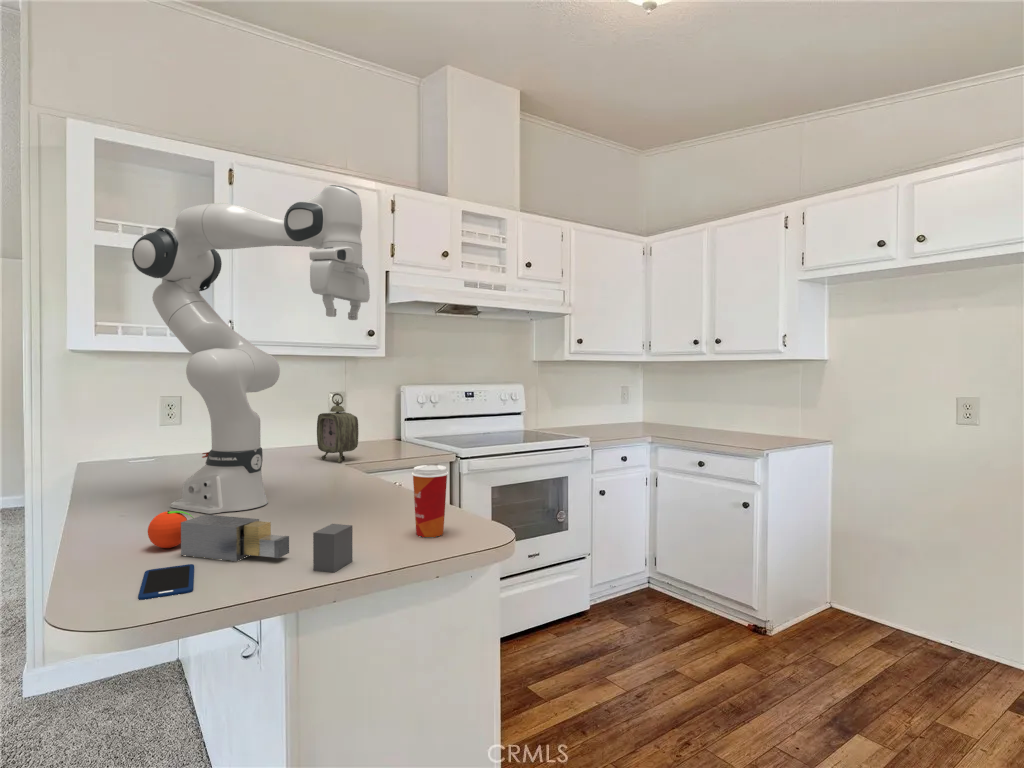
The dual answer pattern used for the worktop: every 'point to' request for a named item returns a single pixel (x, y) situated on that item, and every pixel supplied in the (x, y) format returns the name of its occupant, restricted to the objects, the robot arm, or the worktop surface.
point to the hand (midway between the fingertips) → (342, 318)
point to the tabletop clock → (337, 431)
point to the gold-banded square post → (263, 541)
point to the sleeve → (213, 537)
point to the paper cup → (429, 499)
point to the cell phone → (167, 582)
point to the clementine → (166, 529)
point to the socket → (332, 547)
